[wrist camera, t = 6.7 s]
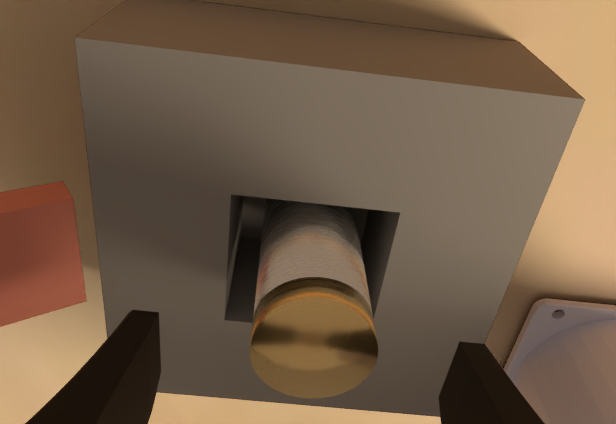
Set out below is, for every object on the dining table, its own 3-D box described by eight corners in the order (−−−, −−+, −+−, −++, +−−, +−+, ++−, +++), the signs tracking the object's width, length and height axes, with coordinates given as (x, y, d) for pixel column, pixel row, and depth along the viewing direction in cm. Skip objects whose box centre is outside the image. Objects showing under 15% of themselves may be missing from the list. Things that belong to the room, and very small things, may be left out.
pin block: (519, 41, 17) (585, 99, 13) (429, 319, 24) (453, 417, 19) (135, -7, 17) (74, 37, 12) (149, 292, 23) (112, 388, 19)
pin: (358, 159, 19) (392, 313, 12) (341, 231, 21) (362, 404, 14) (273, 146, 19) (258, 296, 12) (261, 220, 20) (242, 391, 13)
